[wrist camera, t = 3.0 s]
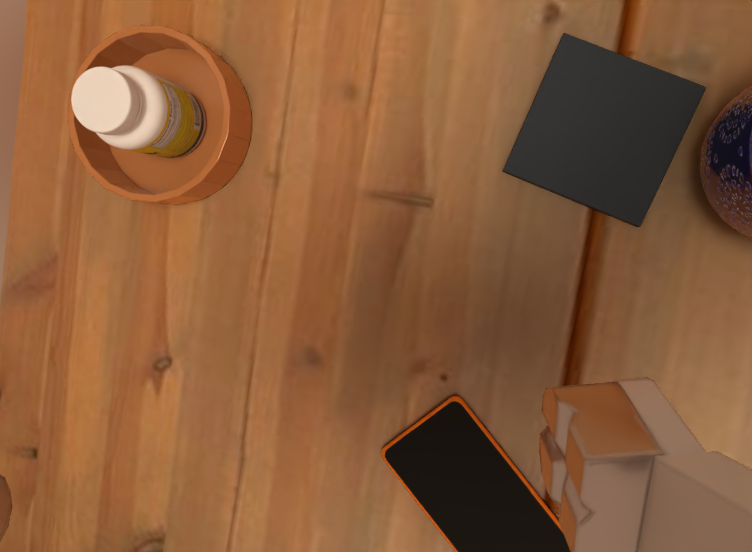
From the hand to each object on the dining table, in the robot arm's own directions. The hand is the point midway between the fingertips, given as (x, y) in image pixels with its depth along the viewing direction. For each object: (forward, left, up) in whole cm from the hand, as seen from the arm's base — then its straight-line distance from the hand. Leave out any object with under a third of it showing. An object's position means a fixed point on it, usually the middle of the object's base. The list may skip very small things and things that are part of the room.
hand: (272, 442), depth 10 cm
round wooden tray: (-2, -23, -38) cm, 45 cm away
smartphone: (+15, +10, -38) cm, 42 cm away
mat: (-13, +6, -38) cm, 41 cm away
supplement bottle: (-2, -23, -38) cm, 44 cm away
